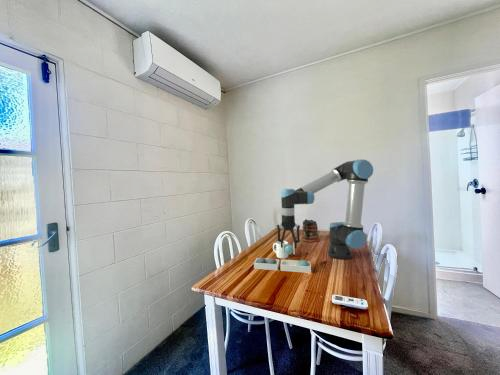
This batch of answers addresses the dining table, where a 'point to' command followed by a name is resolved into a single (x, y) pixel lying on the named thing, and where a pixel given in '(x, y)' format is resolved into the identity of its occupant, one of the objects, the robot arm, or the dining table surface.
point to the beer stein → (310, 231)
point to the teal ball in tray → (303, 263)
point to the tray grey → (266, 265)
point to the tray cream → (295, 266)
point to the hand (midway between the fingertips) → (288, 253)
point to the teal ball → (288, 249)
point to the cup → (280, 249)
